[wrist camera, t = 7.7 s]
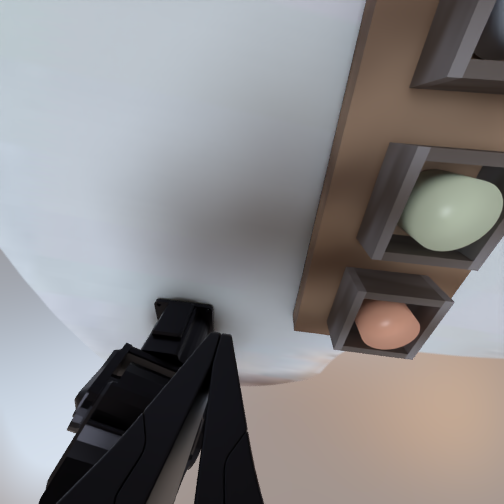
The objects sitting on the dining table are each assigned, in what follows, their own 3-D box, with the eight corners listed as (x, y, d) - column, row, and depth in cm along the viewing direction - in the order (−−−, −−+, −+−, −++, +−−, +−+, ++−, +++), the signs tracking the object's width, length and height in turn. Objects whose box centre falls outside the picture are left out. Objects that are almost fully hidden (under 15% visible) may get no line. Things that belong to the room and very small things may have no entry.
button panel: (406, 329, 23) (436, 376, 19) (292, 315, 23) (296, 358, 19) (707, -142, 9) (1131, -406, 4) (401, -148, 9) (509, -386, 5)
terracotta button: (388, 322, 20) (405, 352, 17) (343, 317, 20) (353, 345, 17) (407, 288, 18) (430, 316, 15) (357, 282, 18) (371, 309, 15)
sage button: (439, 232, 15) (473, 254, 12) (380, 226, 15) (401, 247, 13) (473, 172, 13) (522, 183, 10) (404, 166, 13) (436, 175, 11)
